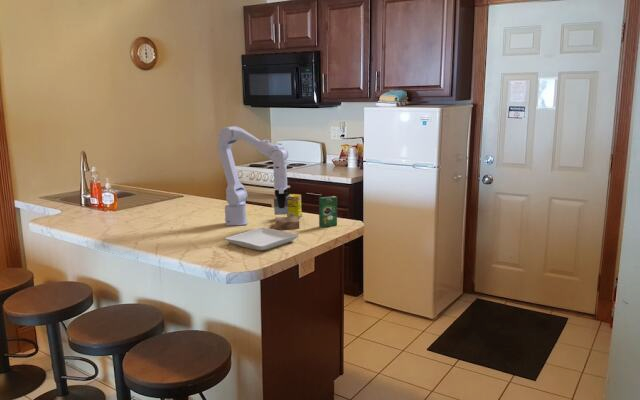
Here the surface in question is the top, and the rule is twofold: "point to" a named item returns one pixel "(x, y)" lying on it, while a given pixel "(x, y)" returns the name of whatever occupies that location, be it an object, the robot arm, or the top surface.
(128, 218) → the top surface
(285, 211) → the block
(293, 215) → the supplement box
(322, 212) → the coffee box
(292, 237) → the salad plate
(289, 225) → the stand
